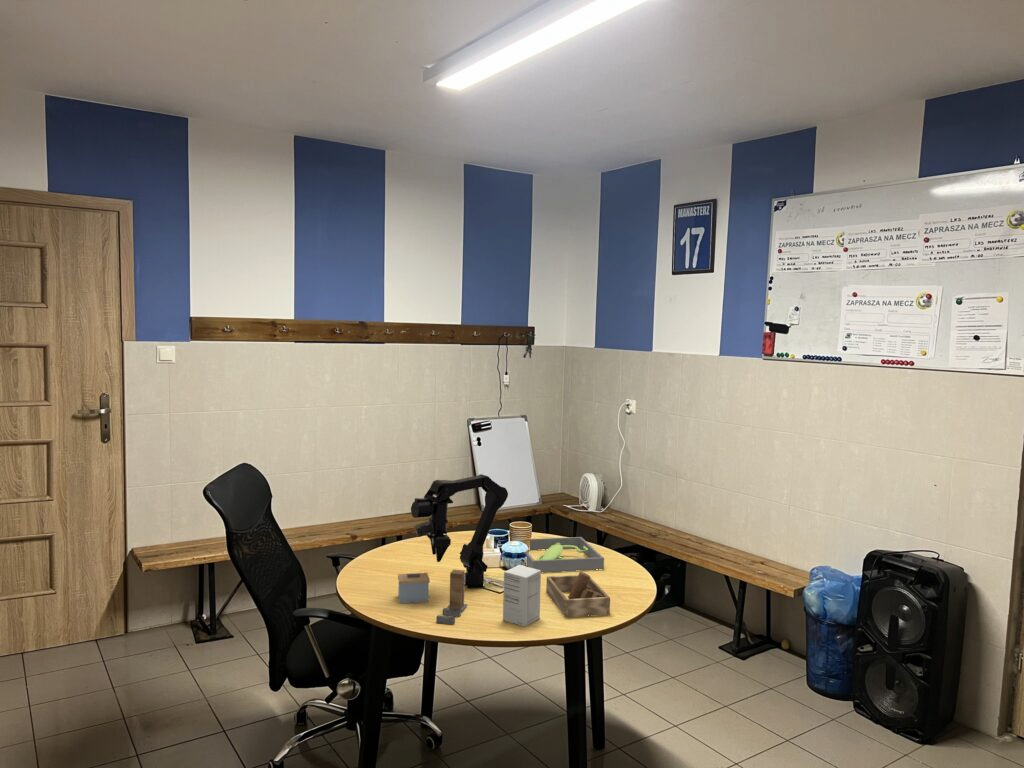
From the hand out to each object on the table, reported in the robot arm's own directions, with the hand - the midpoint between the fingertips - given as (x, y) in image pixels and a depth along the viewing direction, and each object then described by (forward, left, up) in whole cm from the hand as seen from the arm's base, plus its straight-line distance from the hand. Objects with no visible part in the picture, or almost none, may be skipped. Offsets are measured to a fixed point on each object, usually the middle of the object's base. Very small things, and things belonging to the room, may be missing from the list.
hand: (436, 558), depth 271 cm
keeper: (-2, +23, -13) cm, 27 cm away
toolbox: (+8, +3, -13) cm, 16 cm away
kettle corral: (-56, -32, -13) cm, 65 cm away
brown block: (-6, +15, -13) cm, 20 cm away
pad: (-6, +14, -13) cm, 20 cm away
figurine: (-56, -32, -14) cm, 66 cm away
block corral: (-49, +16, -13) cm, 53 cm away
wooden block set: (-51, +17, -14) cm, 55 cm away
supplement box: (-26, +27, -14) cm, 40 cm away
